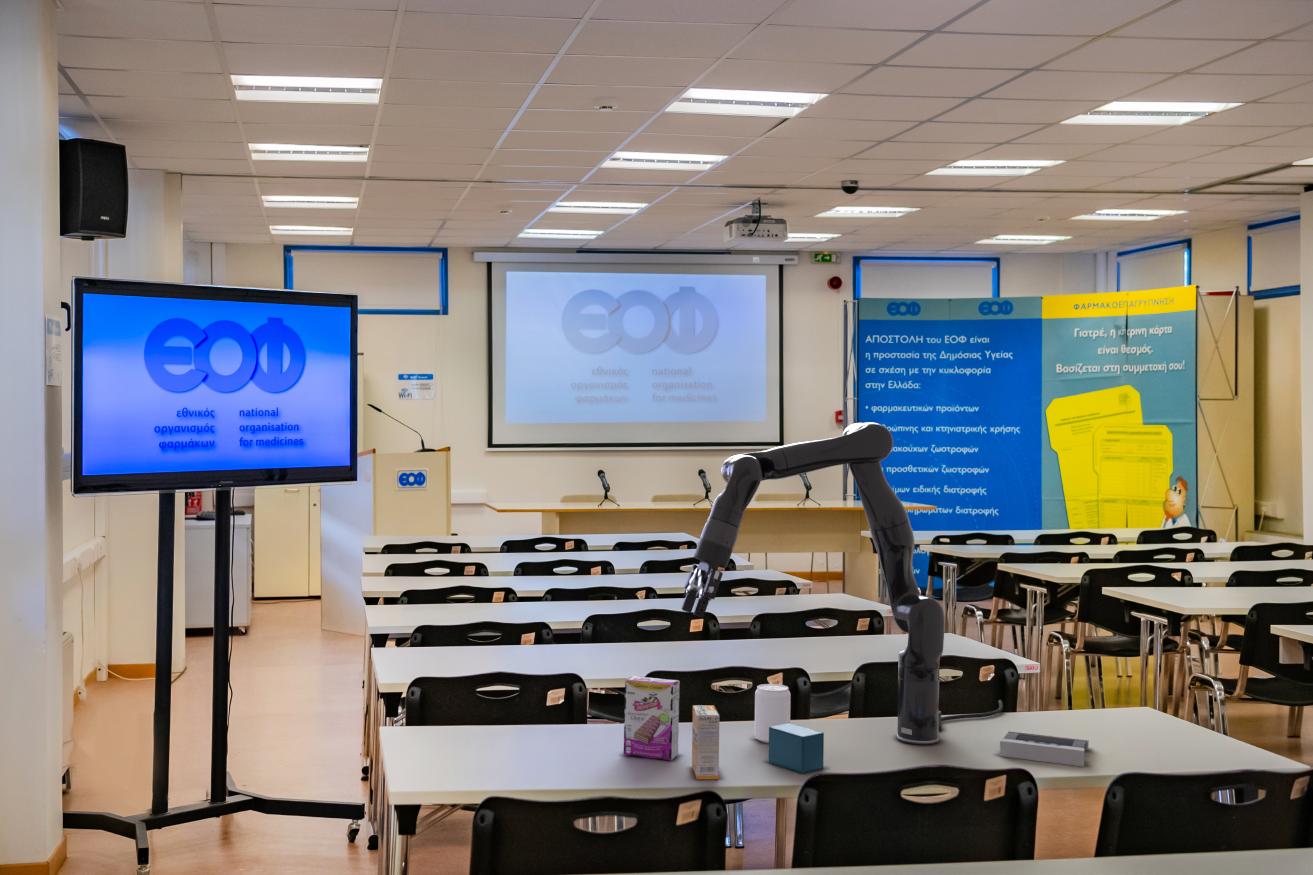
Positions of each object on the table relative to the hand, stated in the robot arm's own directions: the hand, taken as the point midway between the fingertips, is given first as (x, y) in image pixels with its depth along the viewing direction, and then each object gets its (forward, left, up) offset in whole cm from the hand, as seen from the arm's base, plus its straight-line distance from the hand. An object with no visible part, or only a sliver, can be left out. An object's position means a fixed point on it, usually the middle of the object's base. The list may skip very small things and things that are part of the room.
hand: (691, 613), depth 236 cm
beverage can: (-24, +8, -31) cm, 40 cm away
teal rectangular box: (-8, +21, -31) cm, 38 cm away
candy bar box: (+3, -8, -31) cm, 32 cm away
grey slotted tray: (-49, +63, -31) cm, 86 cm away
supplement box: (+8, +8, -31) cm, 33 cm away
